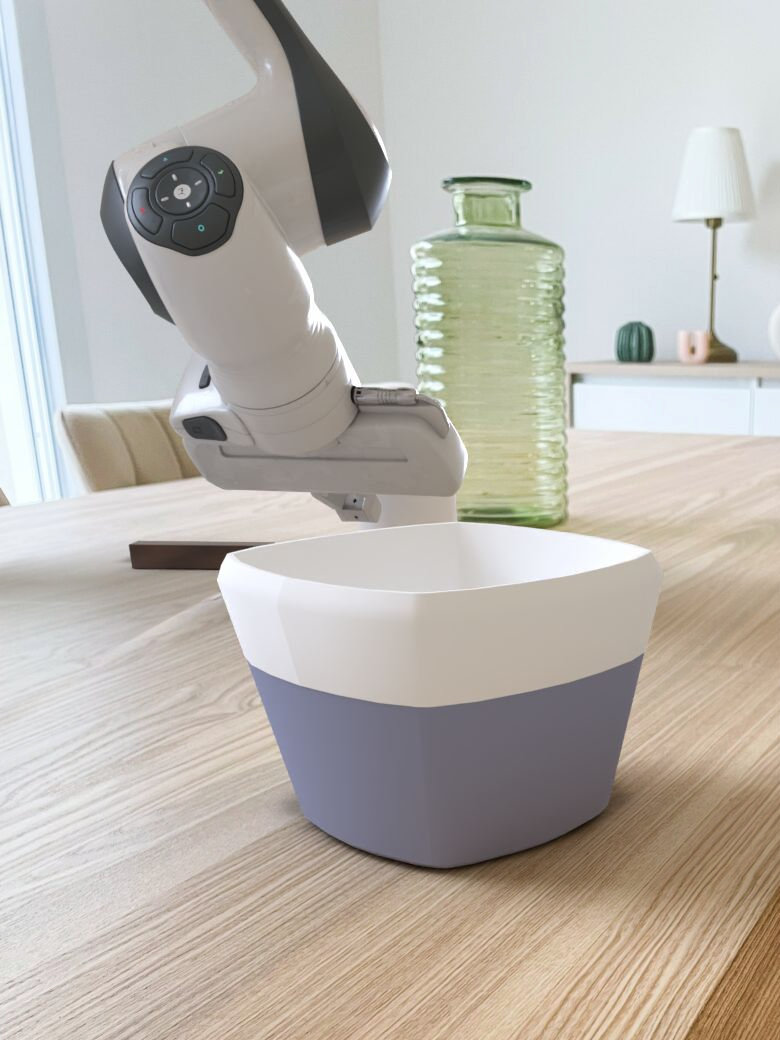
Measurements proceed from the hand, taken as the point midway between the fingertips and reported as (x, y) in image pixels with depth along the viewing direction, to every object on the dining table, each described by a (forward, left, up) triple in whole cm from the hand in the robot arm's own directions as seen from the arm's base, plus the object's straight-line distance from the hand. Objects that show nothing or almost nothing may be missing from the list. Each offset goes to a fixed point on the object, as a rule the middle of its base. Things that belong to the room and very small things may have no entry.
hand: (362, 515), depth 102 cm
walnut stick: (-16, +7, -5) cm, 18 cm away
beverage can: (+2, +6, -6) cm, 8 cm away
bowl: (+16, -51, -6) cm, 54 cm away
